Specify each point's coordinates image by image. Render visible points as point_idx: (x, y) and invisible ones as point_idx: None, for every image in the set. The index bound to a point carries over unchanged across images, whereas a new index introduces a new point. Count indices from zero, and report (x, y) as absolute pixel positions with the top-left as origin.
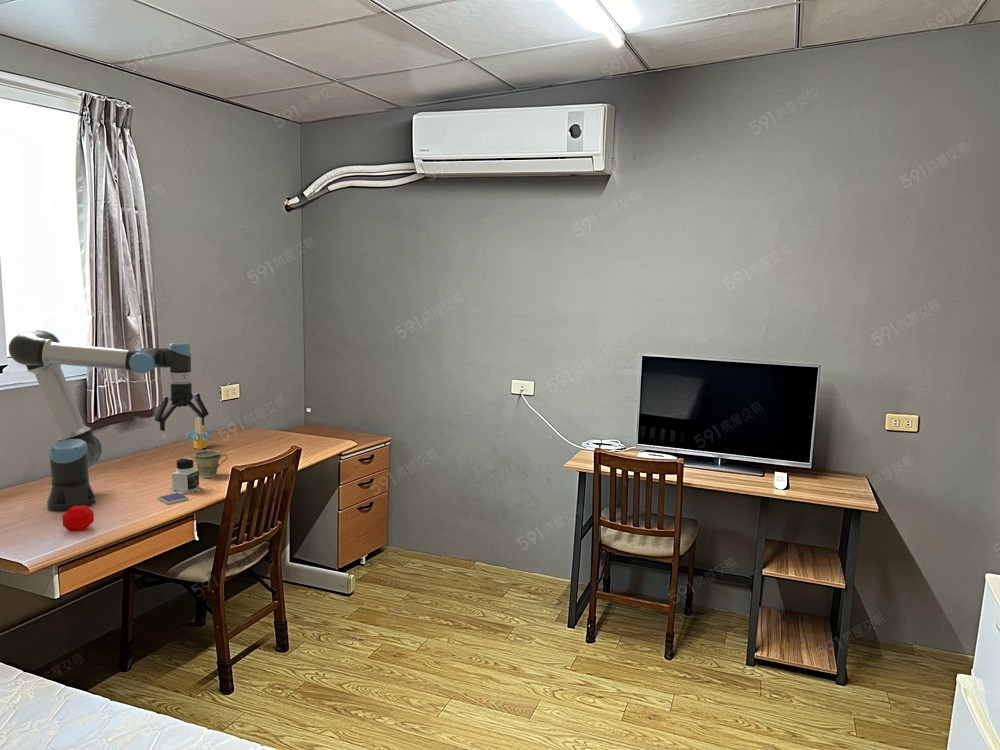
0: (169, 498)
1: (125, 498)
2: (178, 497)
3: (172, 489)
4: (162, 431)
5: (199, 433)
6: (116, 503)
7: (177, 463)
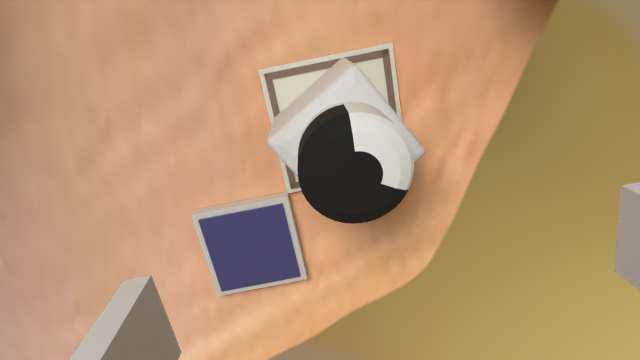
0: (233, 265)
1: (54, 111)
2: (269, 270)
3: (277, 101)
4: (74, 352)
5: (622, 250)
6: (18, 171)
7: (299, 181)
